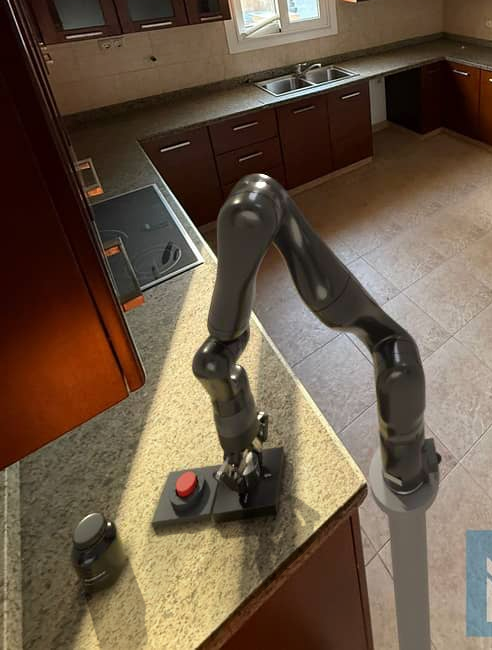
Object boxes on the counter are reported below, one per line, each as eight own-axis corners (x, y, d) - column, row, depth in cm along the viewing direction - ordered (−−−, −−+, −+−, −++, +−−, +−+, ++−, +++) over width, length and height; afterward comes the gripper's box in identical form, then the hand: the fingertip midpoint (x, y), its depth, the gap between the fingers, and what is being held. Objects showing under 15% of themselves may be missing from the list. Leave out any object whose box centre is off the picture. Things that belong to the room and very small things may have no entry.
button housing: (223, 469, 93) (220, 458, 92) (211, 519, 85) (207, 507, 84) (171, 477, 92) (167, 466, 91) (153, 528, 84) (149, 516, 83)
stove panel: (285, 455, 95) (283, 445, 94) (277, 514, 85) (274, 504, 84) (229, 463, 94) (227, 454, 93) (214, 524, 84) (211, 513, 83)
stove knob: (248, 463, 91) (244, 447, 90) (265, 471, 90) (261, 455, 88) (234, 485, 88) (230, 469, 86) (251, 493, 86) (247, 477, 84)
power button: (199, 476, 89) (197, 470, 89) (193, 495, 86) (191, 490, 85) (181, 478, 89) (179, 472, 88) (174, 498, 86) (172, 492, 85)
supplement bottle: (93, 606, 73) (73, 563, 70) (76, 578, 77) (56, 536, 73) (134, 562, 79) (118, 520, 75) (116, 538, 82) (100, 496, 79)
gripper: (224, 460, 76) (240, 523, 81) (274, 390, 88) (285, 449, 93) (192, 445, 78) (209, 507, 84) (245, 379, 91) (257, 437, 96)
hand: (249, 476), depth 89 cm, fingers closed on stove knob, 4 cm apart
